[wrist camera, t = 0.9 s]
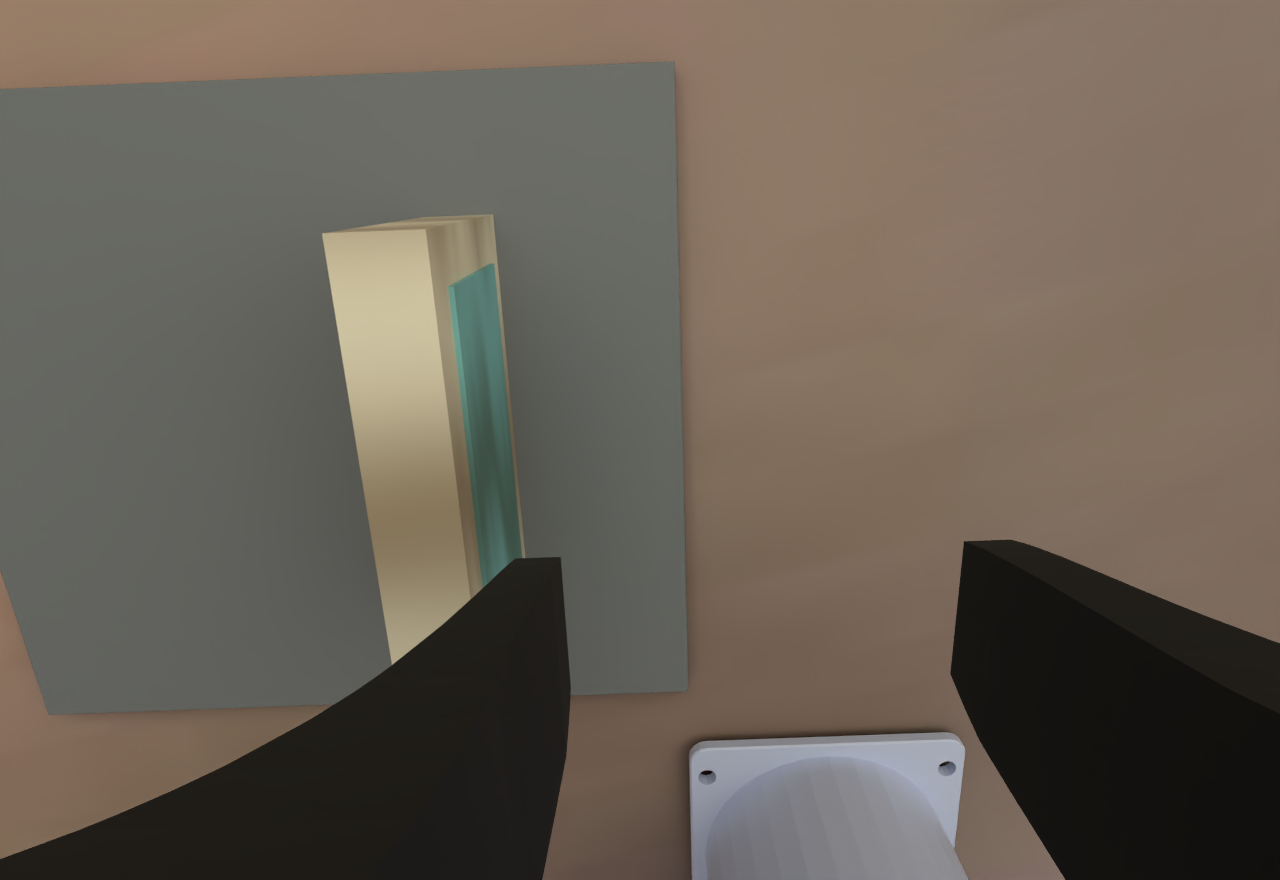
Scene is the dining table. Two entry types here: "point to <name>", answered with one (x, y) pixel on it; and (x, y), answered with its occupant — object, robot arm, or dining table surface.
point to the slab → (428, 411)
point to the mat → (320, 370)
